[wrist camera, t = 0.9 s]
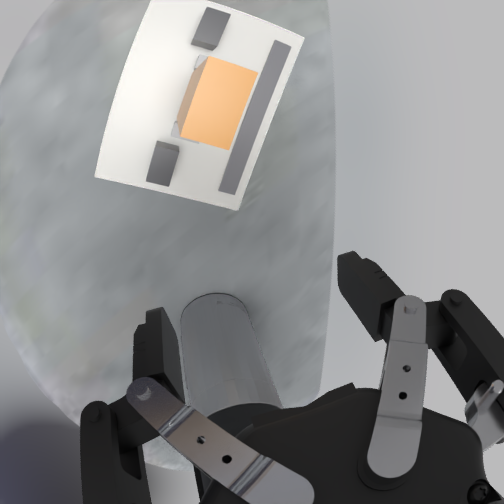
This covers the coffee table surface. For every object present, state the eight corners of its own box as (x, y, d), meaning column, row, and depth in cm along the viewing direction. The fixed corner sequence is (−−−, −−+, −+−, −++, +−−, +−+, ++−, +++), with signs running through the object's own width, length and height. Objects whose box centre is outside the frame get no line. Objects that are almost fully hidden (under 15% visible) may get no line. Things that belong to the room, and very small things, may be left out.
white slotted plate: (228, 194, 35) (244, 223, 28) (104, 164, 30) (86, 186, 23) (286, 43, 28) (318, 33, 21) (158, 2, 23) (155, -24, 16)
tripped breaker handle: (203, 124, 25) (228, 150, 15) (176, 116, 25) (179, 136, 14) (219, 81, 24) (258, 72, 13) (192, 73, 23) (209, 55, 12)
